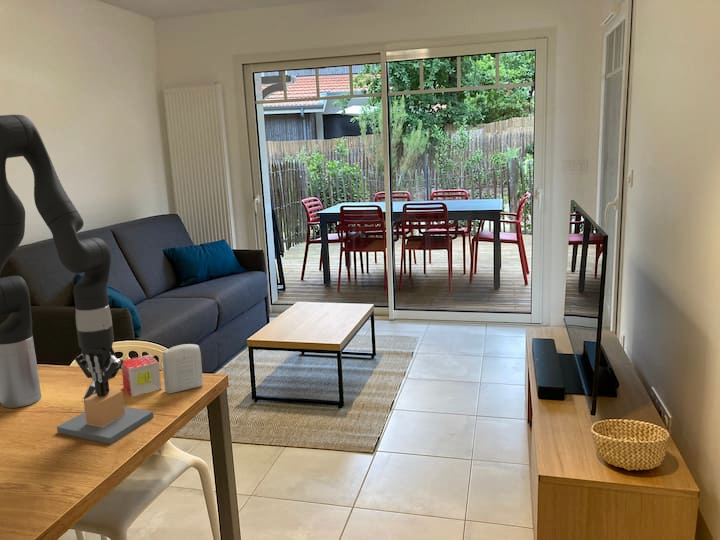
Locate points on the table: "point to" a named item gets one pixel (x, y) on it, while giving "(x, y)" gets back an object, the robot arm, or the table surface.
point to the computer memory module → (90, 390)
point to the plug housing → (104, 408)
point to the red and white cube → (141, 375)
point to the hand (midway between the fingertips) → (103, 395)
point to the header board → (106, 426)
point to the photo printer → (182, 368)
